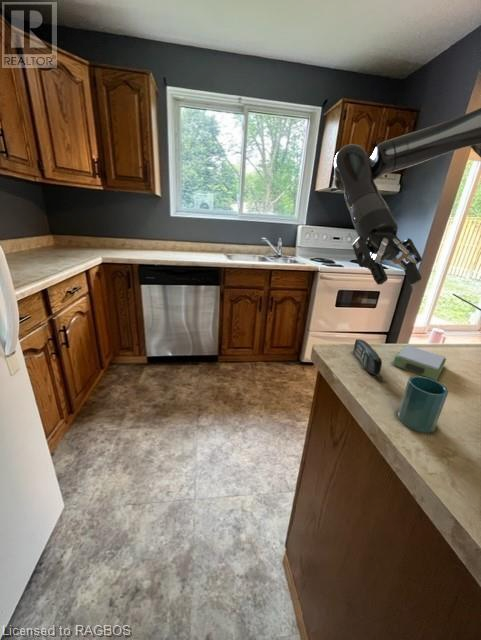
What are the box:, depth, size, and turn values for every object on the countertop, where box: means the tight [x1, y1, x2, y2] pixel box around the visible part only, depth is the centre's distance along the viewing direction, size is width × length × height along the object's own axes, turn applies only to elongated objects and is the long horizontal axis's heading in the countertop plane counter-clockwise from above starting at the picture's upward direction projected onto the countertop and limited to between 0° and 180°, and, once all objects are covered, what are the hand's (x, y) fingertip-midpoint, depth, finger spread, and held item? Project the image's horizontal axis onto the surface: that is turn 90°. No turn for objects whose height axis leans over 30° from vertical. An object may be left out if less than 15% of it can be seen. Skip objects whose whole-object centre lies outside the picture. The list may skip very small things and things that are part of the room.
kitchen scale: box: [392, 345, 447, 381], centre depth 73 cm, size 11×10×3 cm
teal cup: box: [397, 375, 449, 434], centre depth 51 cm, size 6×6×8 cm
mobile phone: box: [352, 338, 383, 381], centre depth 72 cm, size 5×3×15 cm
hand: (400, 282), depth 54 cm, fingers open, 8 cm apart
